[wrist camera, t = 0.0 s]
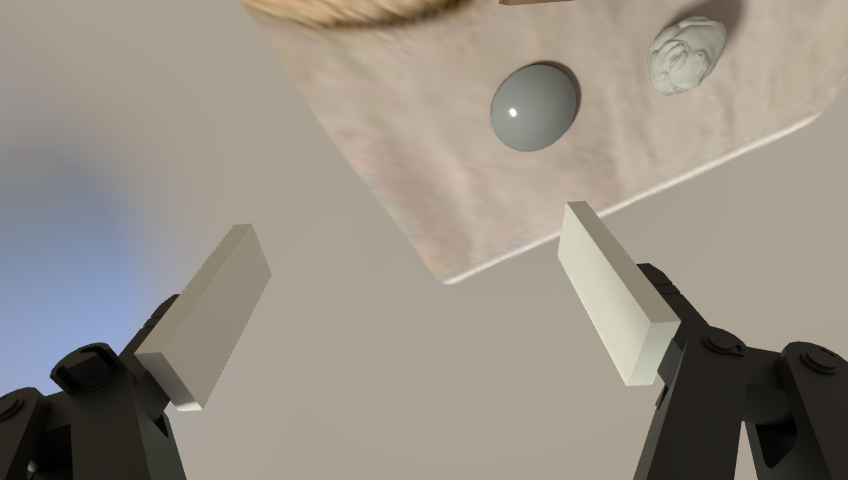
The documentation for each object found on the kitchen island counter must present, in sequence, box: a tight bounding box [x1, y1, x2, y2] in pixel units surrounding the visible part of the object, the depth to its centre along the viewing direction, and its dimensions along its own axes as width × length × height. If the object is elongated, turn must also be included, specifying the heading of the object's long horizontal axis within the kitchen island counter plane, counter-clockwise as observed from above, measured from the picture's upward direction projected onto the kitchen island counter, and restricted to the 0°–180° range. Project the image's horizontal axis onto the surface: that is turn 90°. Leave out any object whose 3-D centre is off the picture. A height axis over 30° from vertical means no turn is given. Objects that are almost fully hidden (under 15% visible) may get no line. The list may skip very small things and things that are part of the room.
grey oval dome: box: [491, 64, 577, 152], centre depth 40 cm, size 9×9×1 cm
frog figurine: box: [647, 16, 727, 96], centre depth 34 cm, size 6×7×7 cm
